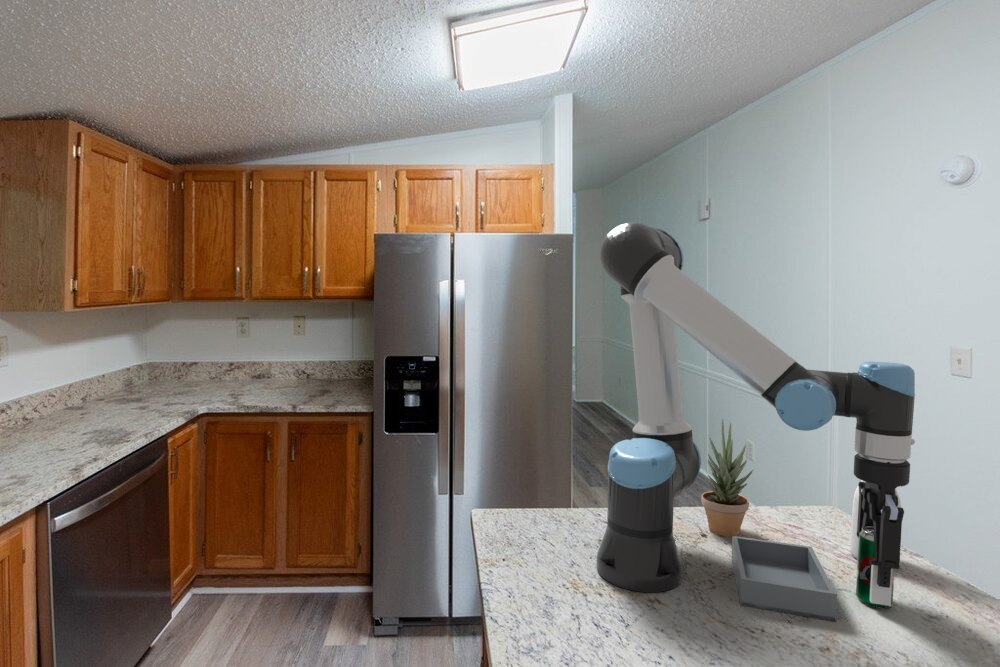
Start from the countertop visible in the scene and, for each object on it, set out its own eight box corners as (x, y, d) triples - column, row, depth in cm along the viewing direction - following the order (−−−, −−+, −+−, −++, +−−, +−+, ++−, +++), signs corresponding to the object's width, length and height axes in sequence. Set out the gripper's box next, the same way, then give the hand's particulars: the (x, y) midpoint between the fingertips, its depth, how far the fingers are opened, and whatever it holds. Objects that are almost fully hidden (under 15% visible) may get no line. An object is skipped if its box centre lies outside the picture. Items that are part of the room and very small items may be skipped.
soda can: (898, 611, 87) (902, 539, 87) (863, 607, 88) (867, 536, 88) (883, 595, 92) (887, 526, 92) (850, 591, 93) (854, 523, 93)
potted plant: (719, 518, 125) (723, 412, 123) (757, 534, 117) (761, 420, 115) (689, 527, 120) (693, 416, 118) (726, 544, 112) (731, 425, 110)
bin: (740, 605, 89) (741, 579, 89) (731, 557, 106) (732, 535, 105) (835, 621, 85) (836, 594, 84) (810, 569, 101) (811, 546, 101)
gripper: (933, 475, 79) (923, 629, 81) (889, 445, 96) (881, 572, 98) (873, 470, 82) (865, 619, 83) (840, 441, 99) (834, 565, 100)
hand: (874, 594), depth 90 cm, fingers closed on soda can, 5 cm apart
